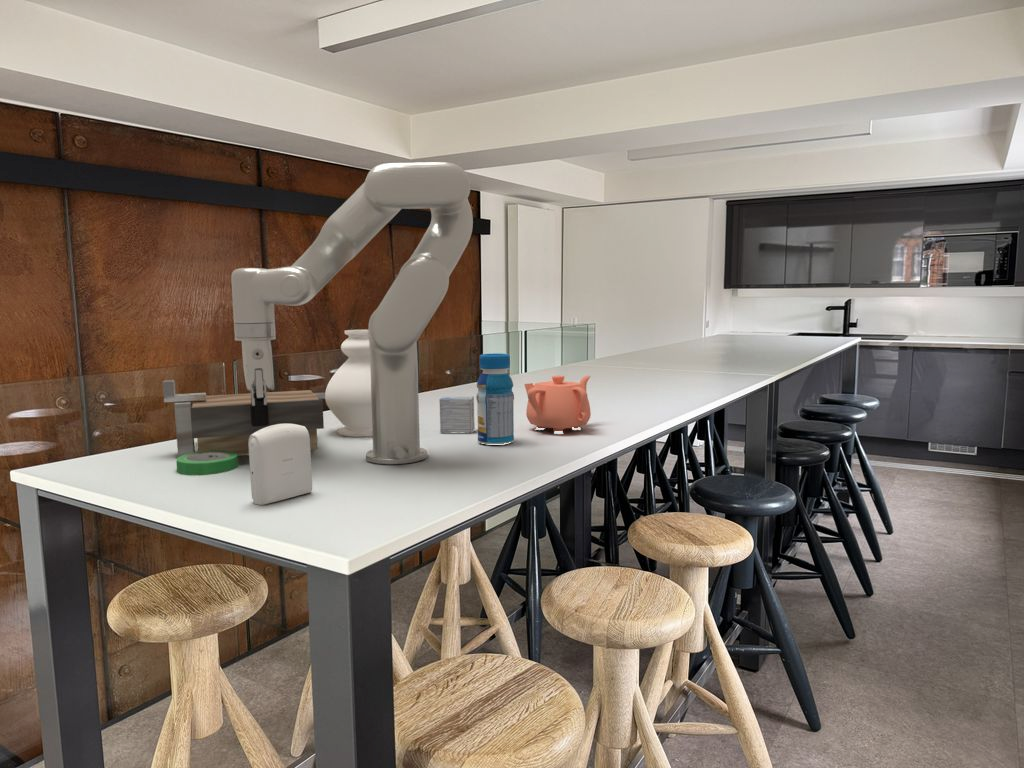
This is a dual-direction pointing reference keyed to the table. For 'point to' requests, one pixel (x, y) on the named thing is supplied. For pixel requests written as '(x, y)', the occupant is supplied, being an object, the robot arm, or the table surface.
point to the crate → (213, 443)
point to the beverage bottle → (495, 400)
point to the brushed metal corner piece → (172, 397)
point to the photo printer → (279, 463)
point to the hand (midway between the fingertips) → (260, 425)
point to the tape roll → (207, 462)
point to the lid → (235, 414)
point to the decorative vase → (352, 387)
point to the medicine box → (457, 414)
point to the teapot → (558, 403)
